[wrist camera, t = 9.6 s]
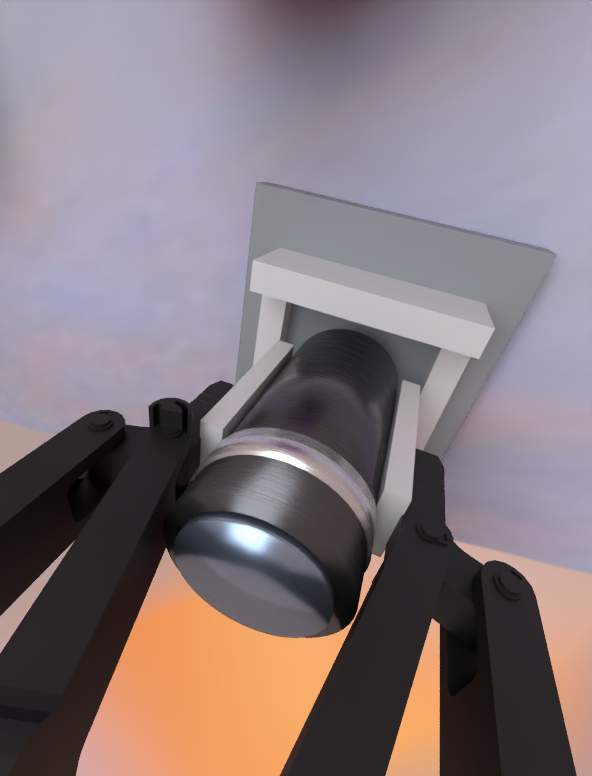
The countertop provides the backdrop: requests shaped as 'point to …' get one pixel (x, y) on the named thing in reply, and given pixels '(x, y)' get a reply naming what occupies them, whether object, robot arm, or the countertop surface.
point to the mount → (387, 294)
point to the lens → (293, 493)
